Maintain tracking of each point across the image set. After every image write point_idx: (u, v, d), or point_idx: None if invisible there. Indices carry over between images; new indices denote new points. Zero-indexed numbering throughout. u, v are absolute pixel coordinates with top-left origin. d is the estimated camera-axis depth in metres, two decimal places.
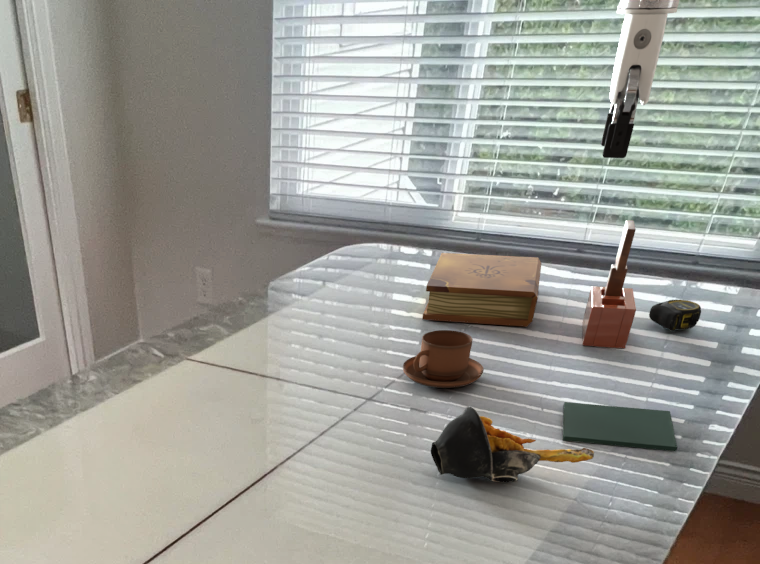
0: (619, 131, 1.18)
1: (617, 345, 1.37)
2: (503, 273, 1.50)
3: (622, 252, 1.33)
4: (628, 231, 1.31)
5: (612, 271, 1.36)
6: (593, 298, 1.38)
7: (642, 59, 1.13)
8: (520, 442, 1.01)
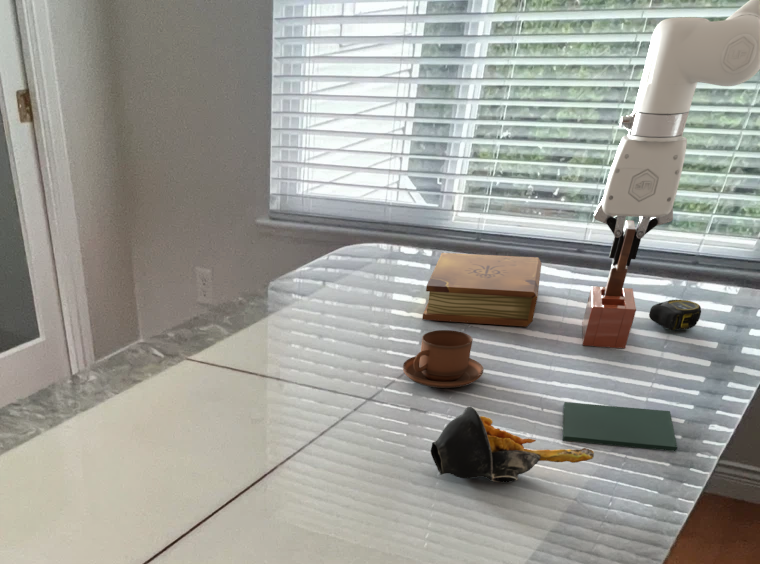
0: (613, 240, 1.35)
1: (617, 345, 1.37)
2: (503, 273, 1.50)
3: (622, 252, 1.33)
4: (628, 231, 1.31)
5: (612, 271, 1.36)
6: (593, 298, 1.38)
7: (609, 174, 1.29)
8: (520, 442, 1.01)
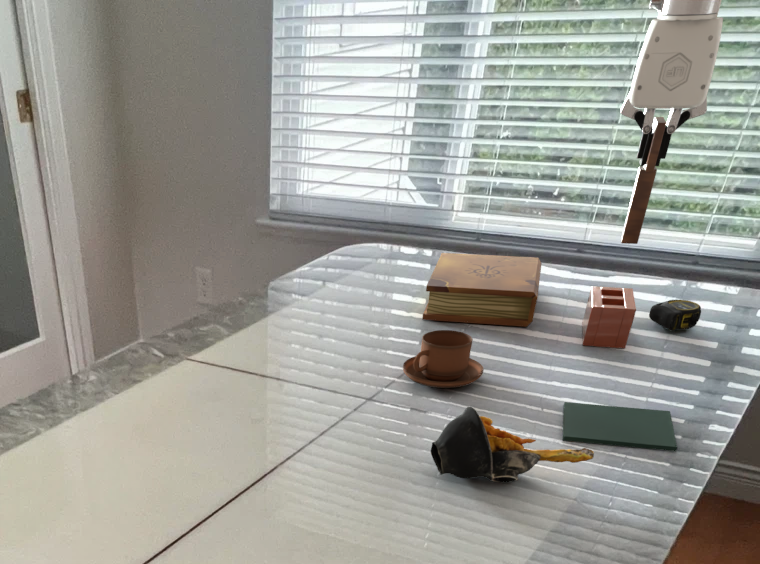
0: (641, 138, 1.25)
1: (617, 345, 1.37)
2: (503, 273, 1.50)
3: (651, 149, 1.24)
4: (658, 125, 1.22)
5: (640, 172, 1.27)
6: (593, 298, 1.38)
7: None
8: (520, 442, 1.01)
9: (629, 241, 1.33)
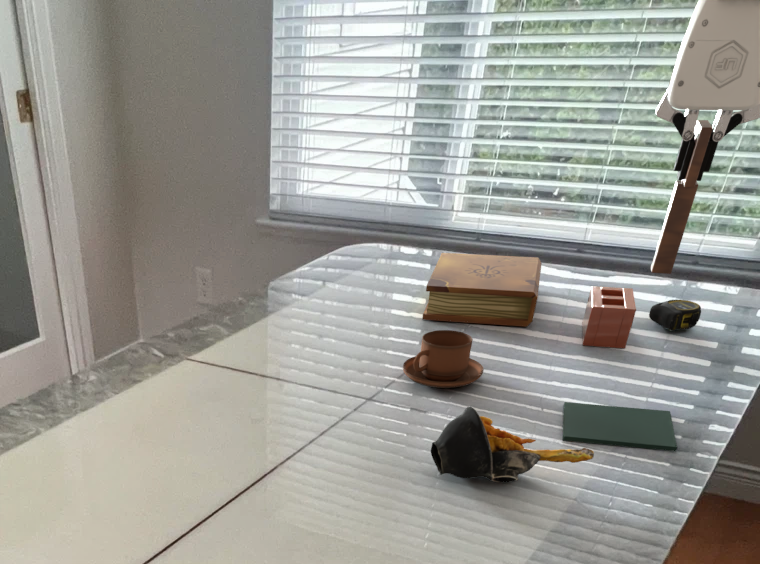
0: (680, 147, 1.02)
1: (617, 345, 1.37)
2: (503, 273, 1.50)
3: (693, 160, 1.00)
4: (702, 130, 0.98)
5: (677, 188, 1.04)
6: (593, 298, 1.38)
7: (679, 51, 0.96)
8: (520, 442, 1.01)
9: (661, 270, 1.10)
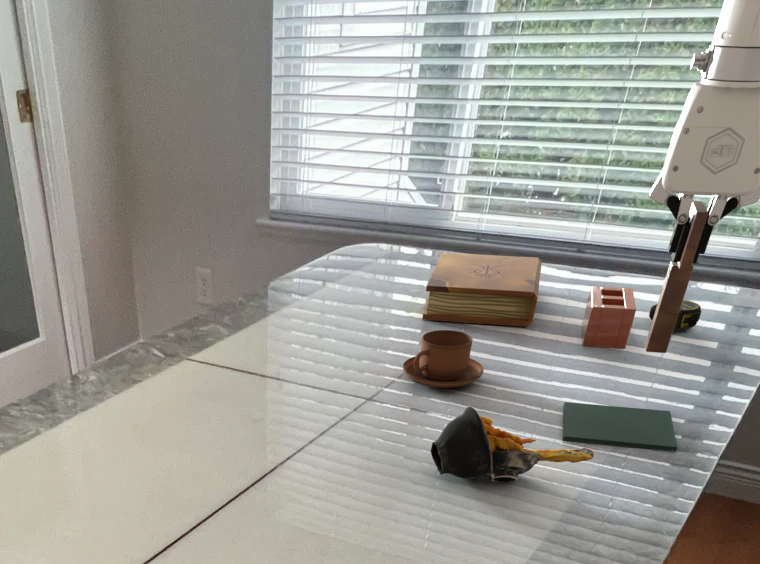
0: (675, 228, 0.99)
1: (617, 345, 1.37)
2: (503, 273, 1.50)
3: (688, 244, 0.98)
4: (698, 215, 0.96)
5: (672, 270, 1.01)
6: (593, 298, 1.38)
7: (673, 135, 0.93)
8: (520, 442, 1.01)
9: (656, 350, 1.07)
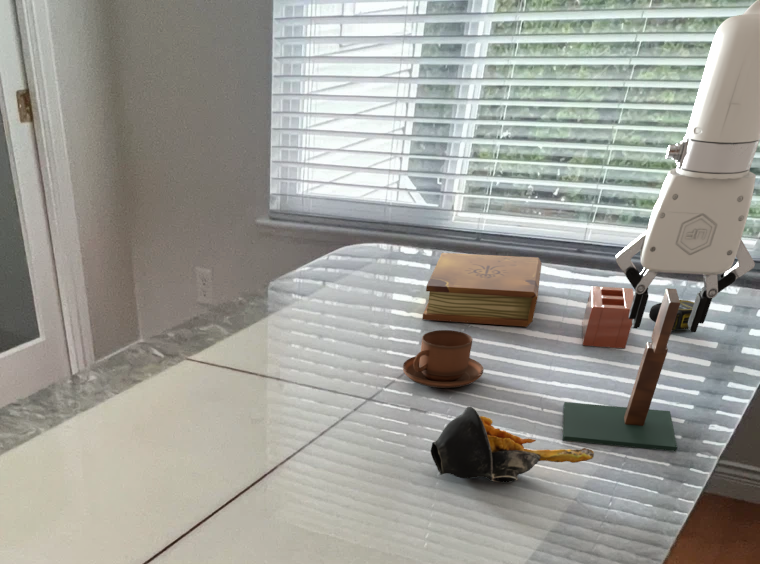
0: (634, 297, 1.05)
1: (617, 345, 1.37)
2: (503, 273, 1.50)
3: (662, 330, 1.04)
4: (670, 305, 1.02)
5: (648, 352, 1.08)
6: (593, 298, 1.38)
7: (651, 218, 0.99)
8: (520, 442, 1.01)
9: (634, 422, 1.14)
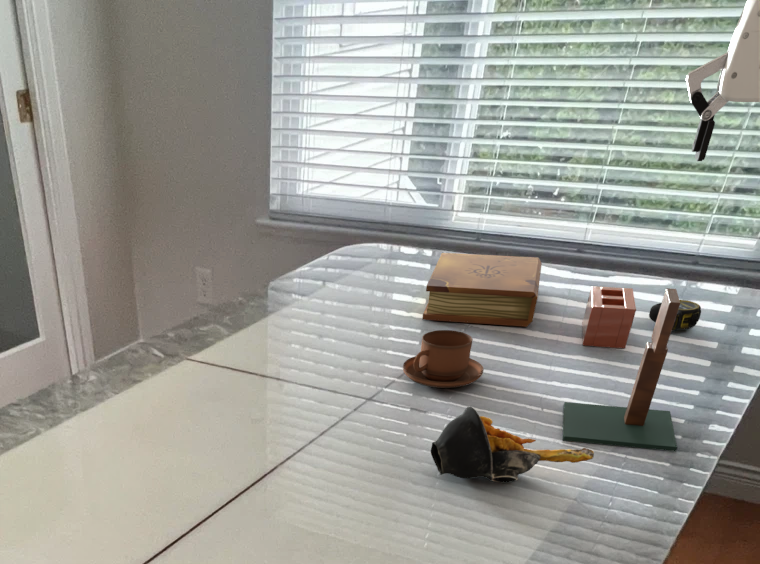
0: (699, 127, 1.00)
1: (617, 345, 1.37)
2: (503, 273, 1.50)
3: (662, 330, 1.04)
4: (670, 305, 1.02)
5: (648, 352, 1.08)
6: (593, 298, 1.38)
7: (731, 42, 0.94)
8: (520, 442, 1.01)
9: (634, 422, 1.14)
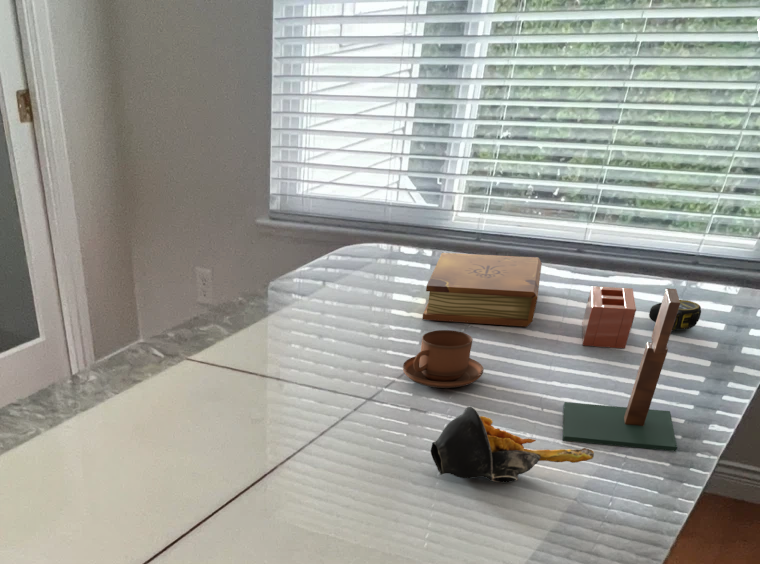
0: None
1: (617, 345, 1.37)
2: (503, 273, 1.50)
3: (662, 330, 1.04)
4: (670, 305, 1.02)
5: (648, 352, 1.08)
6: (593, 298, 1.38)
7: None
8: (520, 442, 1.01)
9: (634, 422, 1.14)
